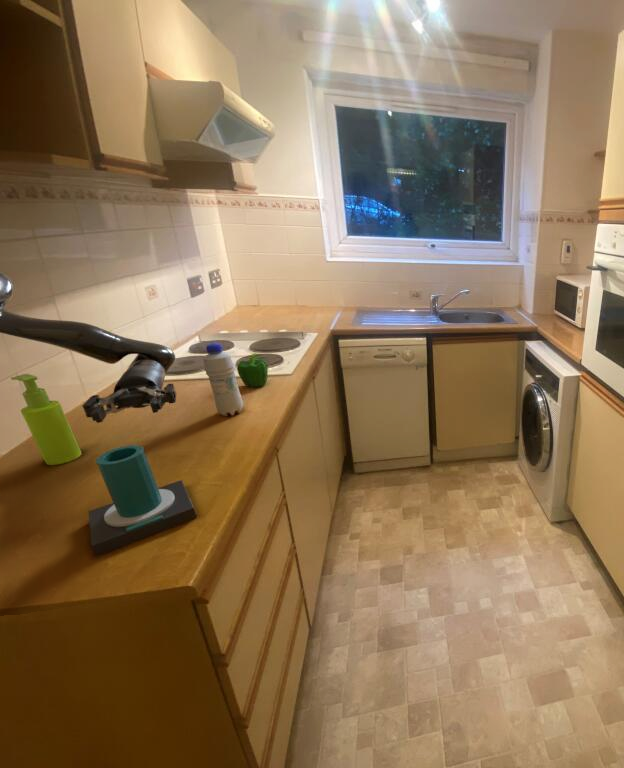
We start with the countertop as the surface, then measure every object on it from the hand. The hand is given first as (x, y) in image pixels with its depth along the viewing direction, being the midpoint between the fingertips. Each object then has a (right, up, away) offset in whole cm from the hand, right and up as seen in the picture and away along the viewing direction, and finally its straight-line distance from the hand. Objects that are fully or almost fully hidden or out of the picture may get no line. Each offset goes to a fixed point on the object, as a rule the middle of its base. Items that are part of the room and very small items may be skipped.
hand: (126, 413), depth 84 cm
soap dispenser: (-28, -11, +15) cm, 33 cm away
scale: (+7, -19, -4) cm, 21 cm away
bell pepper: (-7, +5, +55) cm, 56 cm away
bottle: (-3, -2, +37) cm, 37 cm away
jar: (+7, -17, -5) cm, 19 cm away
